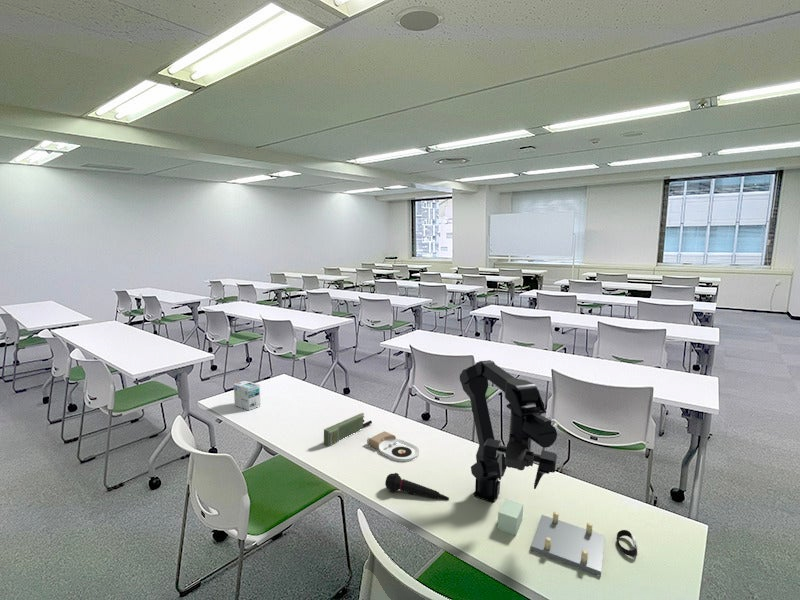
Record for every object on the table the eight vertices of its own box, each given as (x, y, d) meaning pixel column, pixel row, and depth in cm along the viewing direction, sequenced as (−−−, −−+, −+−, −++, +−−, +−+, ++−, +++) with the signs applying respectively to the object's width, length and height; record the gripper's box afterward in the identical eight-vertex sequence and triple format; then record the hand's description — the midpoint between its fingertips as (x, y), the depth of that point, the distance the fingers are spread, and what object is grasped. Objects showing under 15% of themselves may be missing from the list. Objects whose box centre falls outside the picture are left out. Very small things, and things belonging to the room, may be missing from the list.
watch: (641, 560, 101) (642, 547, 100) (620, 556, 102) (621, 543, 102) (632, 539, 108) (633, 526, 108) (613, 535, 109) (614, 523, 109)
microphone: (447, 505, 125) (385, 487, 130) (451, 486, 126) (389, 468, 131) (445, 511, 120) (381, 491, 125) (449, 491, 121) (385, 472, 126)
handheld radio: (322, 444, 156) (368, 423, 175) (328, 448, 154) (373, 425, 173) (322, 428, 155) (368, 408, 174) (328, 431, 153) (374, 411, 172)
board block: (497, 529, 111) (498, 512, 110) (504, 514, 117) (505, 498, 116) (515, 535, 109) (517, 518, 108) (522, 520, 115) (523, 504, 114)
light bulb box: (261, 406, 191) (260, 384, 189) (249, 411, 185) (248, 388, 184) (246, 401, 196) (245, 379, 195) (233, 406, 191) (233, 383, 189)
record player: (386, 429, 163) (425, 446, 150) (386, 436, 164) (425, 454, 151) (364, 439, 155) (404, 458, 142) (364, 446, 155) (404, 466, 142)
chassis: (530, 550, 103) (531, 536, 103) (541, 518, 115) (542, 506, 115) (600, 576, 96) (602, 561, 95) (604, 539, 108) (606, 526, 107)
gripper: (478, 434, 106) (475, 490, 108) (555, 451, 98) (550, 511, 100) (488, 417, 116) (485, 469, 118) (559, 432, 108) (554, 487, 110)
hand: (517, 483), depth 111 cm, fingers open, 9 cm apart
